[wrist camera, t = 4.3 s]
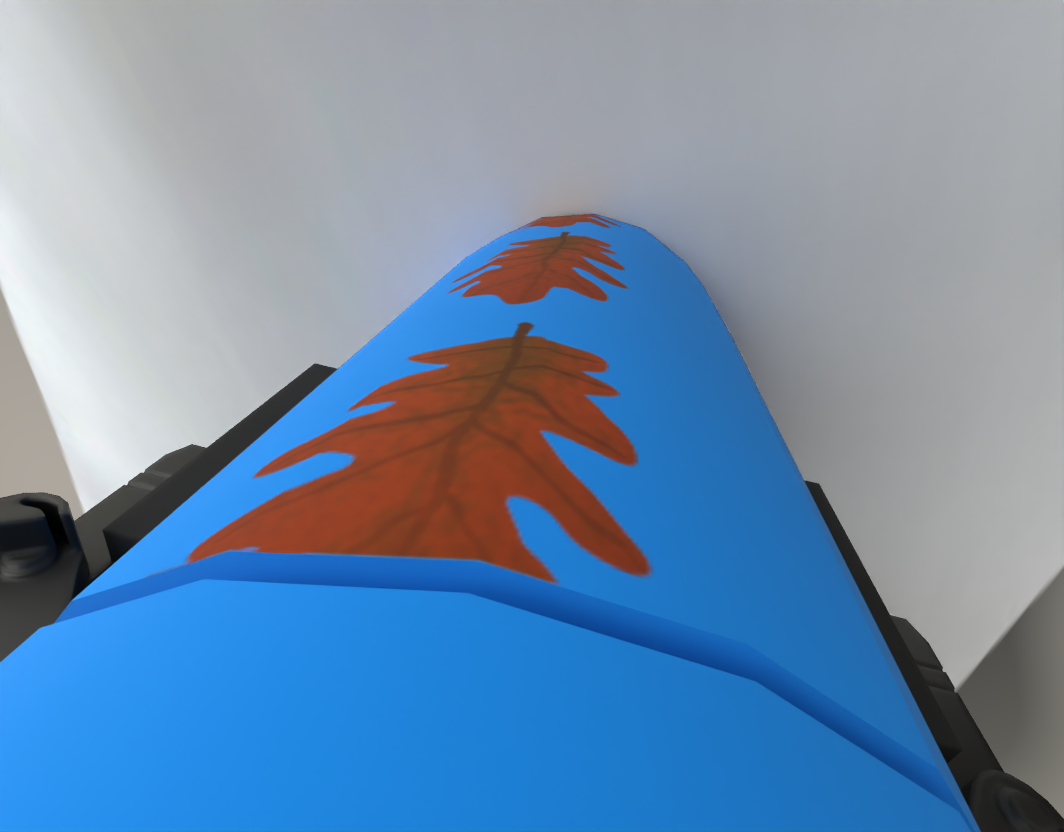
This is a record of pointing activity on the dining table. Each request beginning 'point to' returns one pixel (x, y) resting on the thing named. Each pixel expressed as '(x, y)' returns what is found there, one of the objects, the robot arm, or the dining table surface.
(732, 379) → the thermos
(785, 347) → the dining table surface
